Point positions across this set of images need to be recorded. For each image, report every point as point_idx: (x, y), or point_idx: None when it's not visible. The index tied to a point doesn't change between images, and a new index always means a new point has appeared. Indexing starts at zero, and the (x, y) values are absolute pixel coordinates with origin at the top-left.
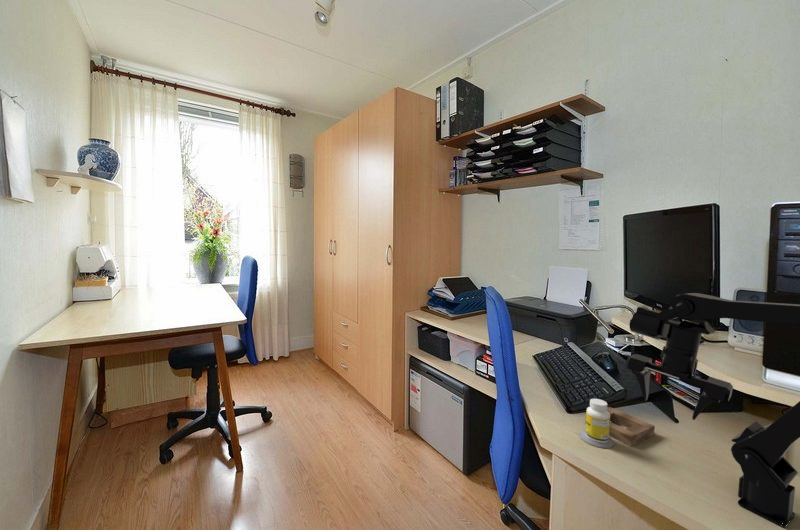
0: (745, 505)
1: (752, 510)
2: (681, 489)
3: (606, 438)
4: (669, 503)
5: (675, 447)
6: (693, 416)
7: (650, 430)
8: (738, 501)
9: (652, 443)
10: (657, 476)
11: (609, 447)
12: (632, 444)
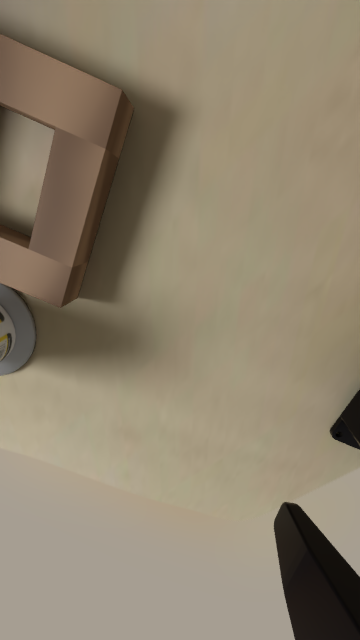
0: (344, 440)
1: (354, 446)
2: (212, 442)
3: (4, 354)
4: (186, 503)
5: (212, 181)
6: (283, 562)
7: (113, 142)
8: (333, 433)
9: (135, 213)
10: (161, 421)
11: (31, 354)
12: (80, 286)
